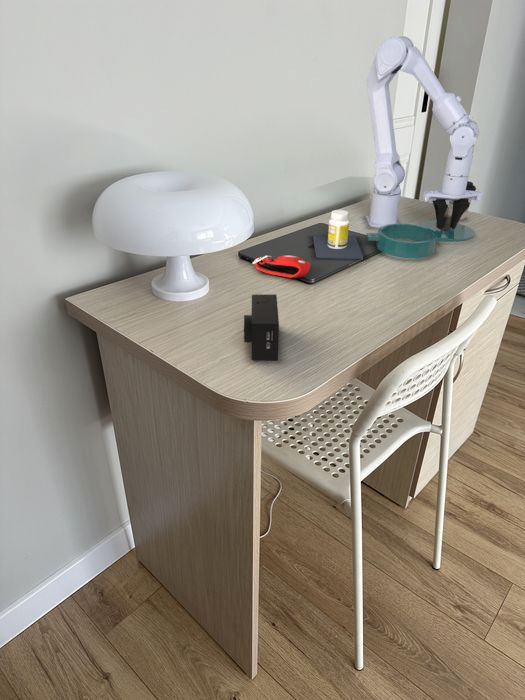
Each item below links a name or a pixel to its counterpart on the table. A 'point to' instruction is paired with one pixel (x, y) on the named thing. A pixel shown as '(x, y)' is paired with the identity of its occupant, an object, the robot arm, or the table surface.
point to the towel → (347, 253)
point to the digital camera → (263, 327)
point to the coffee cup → (470, 188)
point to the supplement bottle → (338, 229)
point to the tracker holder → (287, 261)
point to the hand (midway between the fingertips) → (445, 227)
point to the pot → (403, 248)
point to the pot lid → (450, 229)
